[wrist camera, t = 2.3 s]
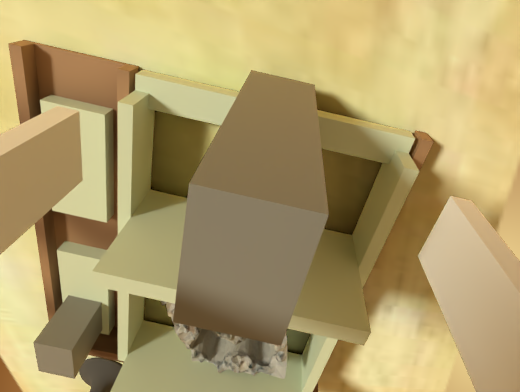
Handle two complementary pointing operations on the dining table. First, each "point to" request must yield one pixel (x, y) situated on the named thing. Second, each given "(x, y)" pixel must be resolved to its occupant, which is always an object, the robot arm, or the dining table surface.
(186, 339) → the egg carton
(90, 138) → the broken strip
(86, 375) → the sundae
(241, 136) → the sage green shelf unit
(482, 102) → the dining table surface
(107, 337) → the frame
